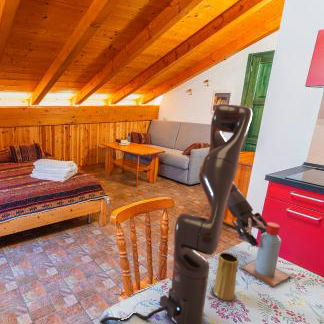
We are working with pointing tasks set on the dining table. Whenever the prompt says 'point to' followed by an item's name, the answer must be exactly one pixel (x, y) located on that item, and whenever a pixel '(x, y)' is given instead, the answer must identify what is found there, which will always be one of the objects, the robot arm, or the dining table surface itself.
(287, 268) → the dining table surface
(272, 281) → the coaster
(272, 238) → the bottle
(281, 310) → the dining table surface
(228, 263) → the vase
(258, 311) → the dining table surface
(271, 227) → the cap
